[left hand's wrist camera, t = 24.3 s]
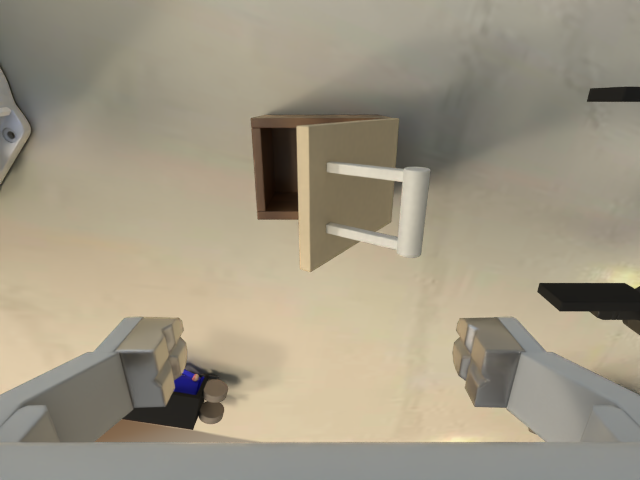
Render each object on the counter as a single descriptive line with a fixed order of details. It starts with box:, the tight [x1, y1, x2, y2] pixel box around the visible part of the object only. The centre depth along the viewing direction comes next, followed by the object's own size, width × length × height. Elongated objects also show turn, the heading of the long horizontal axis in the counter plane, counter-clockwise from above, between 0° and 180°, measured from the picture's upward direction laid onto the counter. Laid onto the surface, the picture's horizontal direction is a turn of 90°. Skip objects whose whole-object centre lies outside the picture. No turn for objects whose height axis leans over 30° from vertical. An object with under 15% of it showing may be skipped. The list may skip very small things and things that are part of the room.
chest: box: [251, 115, 390, 219], centre depth 39 cm, size 14×10×9 cm
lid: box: [296, 118, 431, 272], centre depth 27 cm, size 14×10×8 cm
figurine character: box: [122, 369, 228, 430], centre depth 53 cm, size 7×8×15 cm
